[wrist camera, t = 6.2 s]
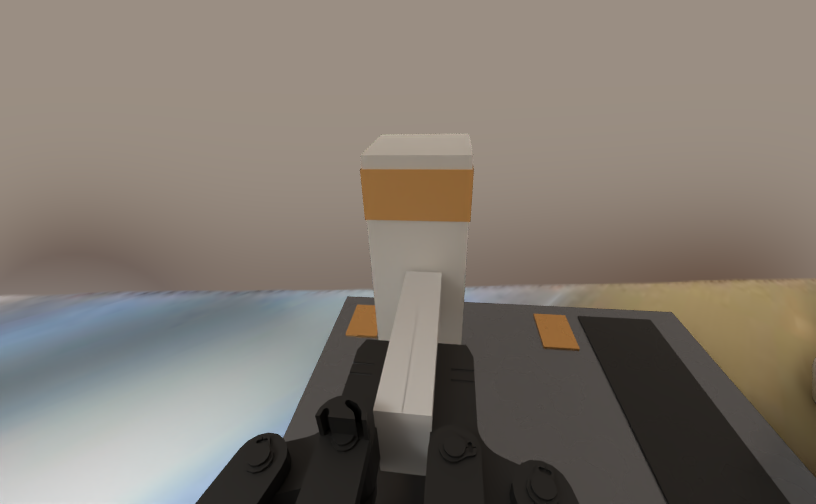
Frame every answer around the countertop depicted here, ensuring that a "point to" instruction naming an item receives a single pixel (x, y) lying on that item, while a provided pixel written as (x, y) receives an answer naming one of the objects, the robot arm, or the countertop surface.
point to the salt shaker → (814, 380)
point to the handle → (418, 220)
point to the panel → (593, 406)
